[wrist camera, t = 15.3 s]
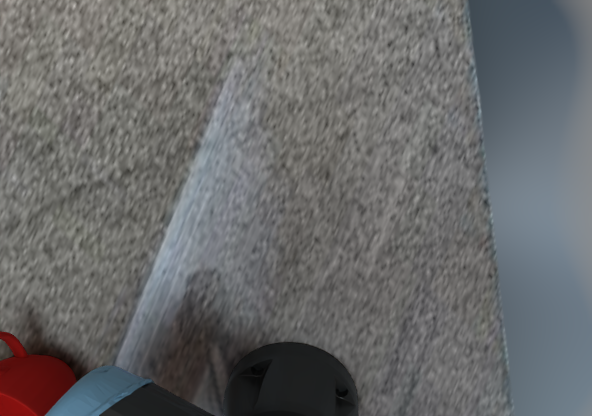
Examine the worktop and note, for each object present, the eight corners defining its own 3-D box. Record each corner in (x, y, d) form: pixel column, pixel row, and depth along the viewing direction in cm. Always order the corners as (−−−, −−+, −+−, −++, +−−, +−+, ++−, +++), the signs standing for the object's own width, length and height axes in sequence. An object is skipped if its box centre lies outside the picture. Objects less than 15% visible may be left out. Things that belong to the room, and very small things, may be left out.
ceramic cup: (86, 301, 54) (33, 354, 44) (110, 424, 59) (66, 495, 49) (-22, 300, 55) (-97, 352, 45) (10, 421, 60) (-51, 490, 51)
